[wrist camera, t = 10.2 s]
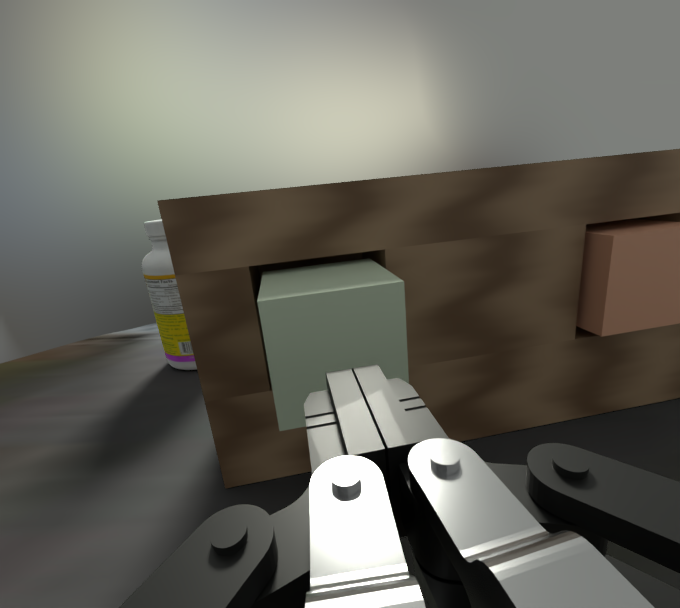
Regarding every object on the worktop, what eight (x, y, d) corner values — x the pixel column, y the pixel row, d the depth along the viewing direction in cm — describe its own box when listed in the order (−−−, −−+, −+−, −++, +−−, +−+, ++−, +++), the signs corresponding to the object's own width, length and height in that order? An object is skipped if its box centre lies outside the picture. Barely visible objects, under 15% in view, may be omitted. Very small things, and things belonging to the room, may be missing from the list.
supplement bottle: (210, 338, 39) (184, 216, 35) (255, 347, 36) (231, 212, 32) (152, 365, 34) (113, 224, 30) (199, 379, 30) (161, 221, 26)
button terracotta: (601, 336, 18) (613, 235, 17) (534, 307, 23) (539, 227, 21) (687, 322, 19) (707, 223, 17) (605, 296, 24) (614, 217, 22)
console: (225, 488, 18) (157, 200, 14) (240, 403, 26) (199, 199, 22) (701, 393, 22) (757, 141, 18) (592, 343, 30) (614, 157, 25)
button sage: (279, 431, 13) (257, 301, 12) (279, 370, 18) (262, 271, 17) (409, 407, 14) (404, 281, 13) (376, 354, 19) (369, 258, 17)
